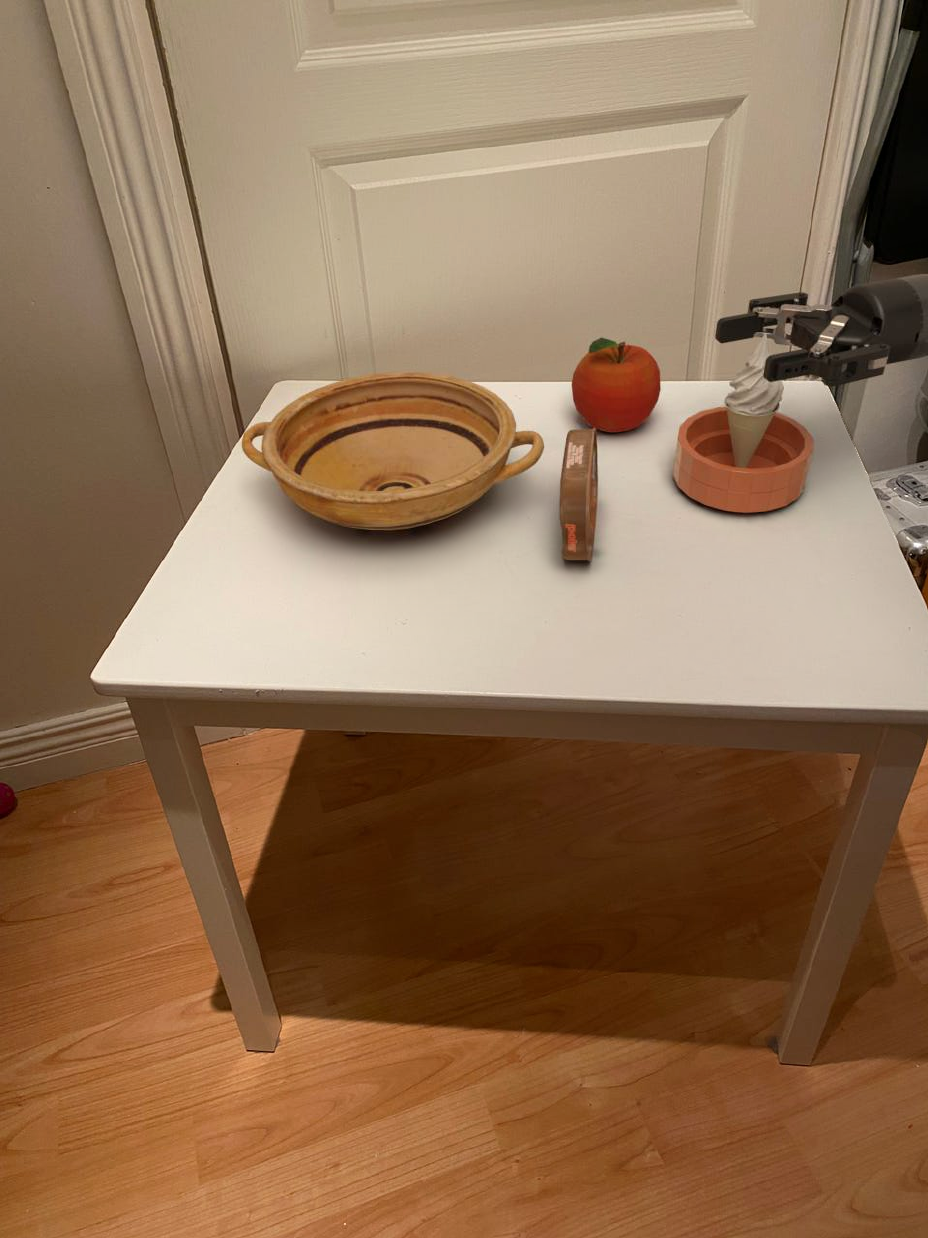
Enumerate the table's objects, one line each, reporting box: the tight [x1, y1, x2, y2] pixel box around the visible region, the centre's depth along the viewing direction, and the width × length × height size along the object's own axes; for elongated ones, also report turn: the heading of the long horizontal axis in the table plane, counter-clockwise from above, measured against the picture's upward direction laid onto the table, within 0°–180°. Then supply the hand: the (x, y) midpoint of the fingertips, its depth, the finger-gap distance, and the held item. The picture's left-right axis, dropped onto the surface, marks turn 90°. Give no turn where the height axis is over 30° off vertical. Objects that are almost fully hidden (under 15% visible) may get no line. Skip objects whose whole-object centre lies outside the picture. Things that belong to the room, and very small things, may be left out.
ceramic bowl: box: [241, 371, 545, 531], centre depth 91 cm, size 30×24×8 cm
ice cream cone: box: [723, 332, 785, 468], centre depth 88 cm, size 5×5×15 cm
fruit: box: [571, 337, 662, 433], centre depth 100 cm, size 10×10×10 cm
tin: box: [558, 427, 599, 562], centre depth 86 cm, size 15×3×8 cm, turn 171°
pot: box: [672, 406, 814, 514], centre depth 92 cm, size 13×13×5 cm
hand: (741, 349), depth 84 cm, fingers open, 8 cm apart
